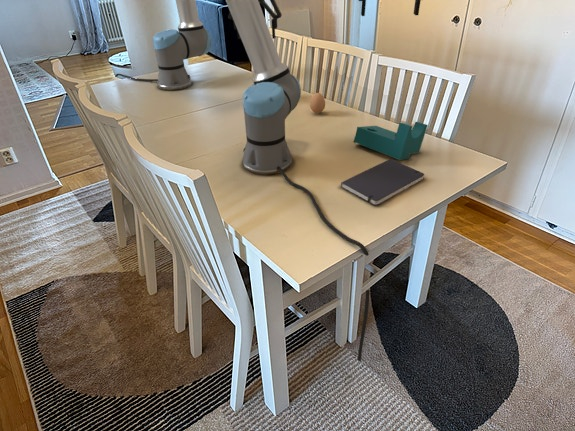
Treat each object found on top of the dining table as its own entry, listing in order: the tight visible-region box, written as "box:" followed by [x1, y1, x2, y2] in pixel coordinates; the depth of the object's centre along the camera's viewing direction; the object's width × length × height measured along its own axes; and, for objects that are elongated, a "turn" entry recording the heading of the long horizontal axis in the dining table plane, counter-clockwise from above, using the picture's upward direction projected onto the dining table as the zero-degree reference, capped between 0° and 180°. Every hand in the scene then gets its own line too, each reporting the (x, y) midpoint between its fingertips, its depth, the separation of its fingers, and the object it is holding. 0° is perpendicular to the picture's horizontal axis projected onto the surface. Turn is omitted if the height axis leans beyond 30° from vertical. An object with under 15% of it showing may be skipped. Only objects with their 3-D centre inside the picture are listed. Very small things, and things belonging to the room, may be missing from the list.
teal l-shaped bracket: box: [353, 121, 428, 161], centre depth 129 cm, size 18×11×10 cm, turn 43°
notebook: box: [340, 158, 425, 206], centre depth 114 cm, size 13×2×21 cm
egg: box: [309, 92, 326, 114], centre depth 156 cm, size 6×6×8 cm
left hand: (256, 38), depth 157 cm, fingers open, 13 cm apart
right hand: (389, 15), depth 105 cm, fingers open, 13 cm apart
